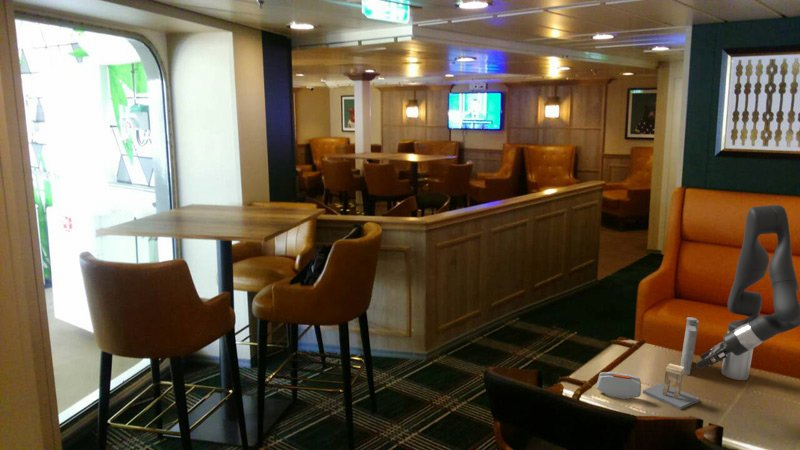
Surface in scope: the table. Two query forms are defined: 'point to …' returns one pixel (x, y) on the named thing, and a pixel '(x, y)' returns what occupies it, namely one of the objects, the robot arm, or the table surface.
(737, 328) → the robot arm
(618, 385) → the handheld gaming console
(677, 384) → the beech stool
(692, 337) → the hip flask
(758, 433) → the table surface
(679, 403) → the mat
